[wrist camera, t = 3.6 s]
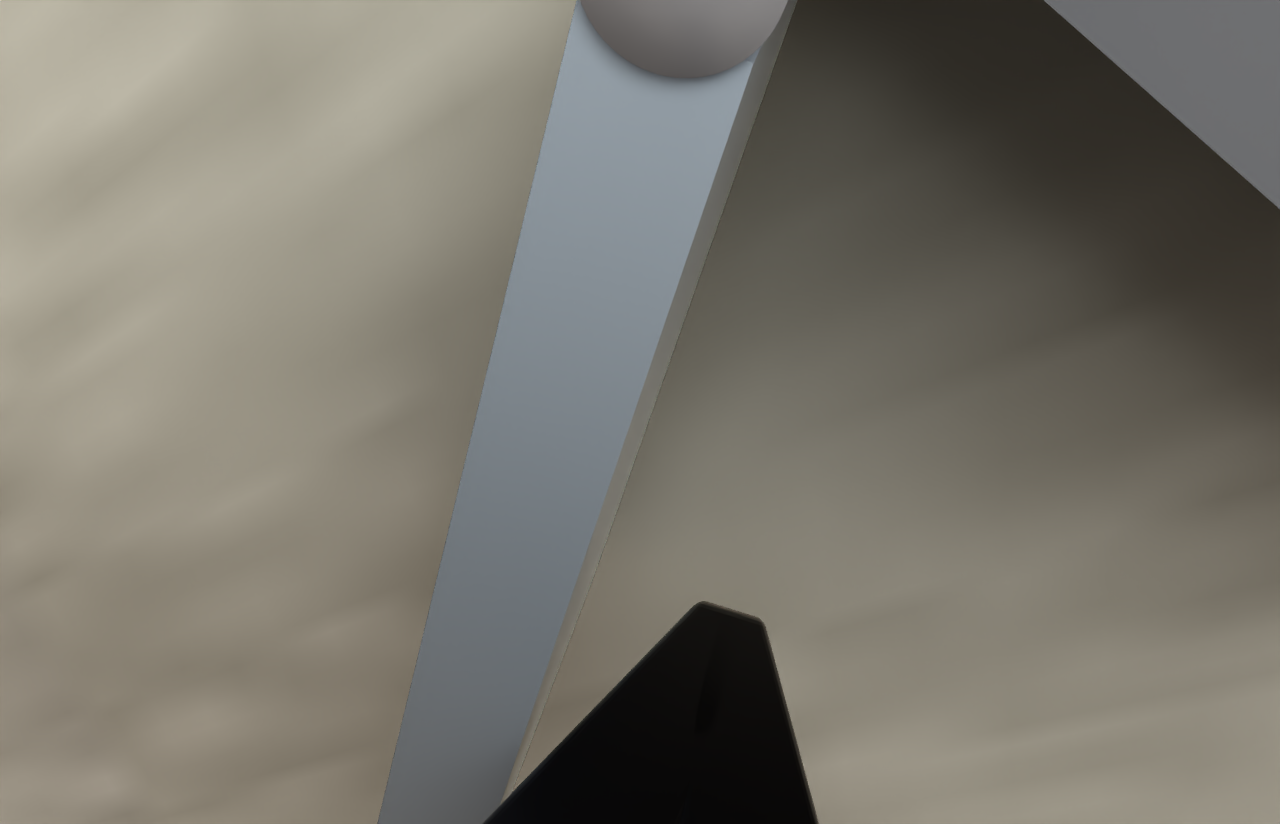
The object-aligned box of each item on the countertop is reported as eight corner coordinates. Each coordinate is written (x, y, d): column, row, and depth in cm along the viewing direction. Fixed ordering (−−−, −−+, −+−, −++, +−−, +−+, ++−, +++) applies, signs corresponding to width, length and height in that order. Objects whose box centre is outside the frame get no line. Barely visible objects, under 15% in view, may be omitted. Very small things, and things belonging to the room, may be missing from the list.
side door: (892, -250, 9) (826, -109, 5) (599, 574, 14) (441, 996, 10) (776, -291, 9) (603, -184, 5) (526, 547, 14) (335, 956, 10)
